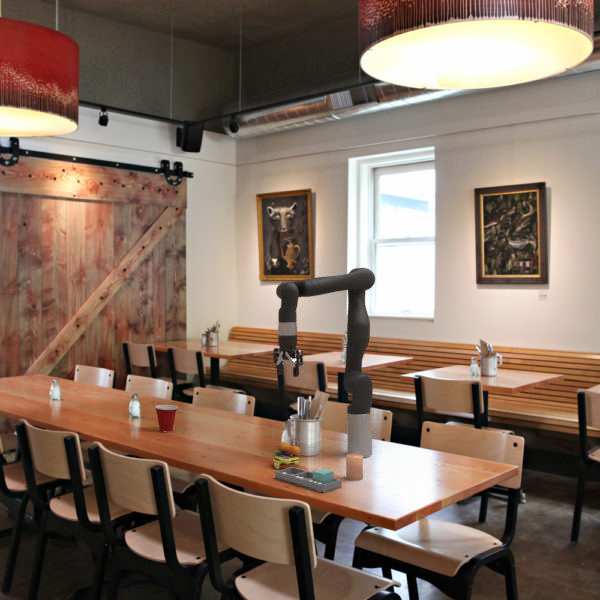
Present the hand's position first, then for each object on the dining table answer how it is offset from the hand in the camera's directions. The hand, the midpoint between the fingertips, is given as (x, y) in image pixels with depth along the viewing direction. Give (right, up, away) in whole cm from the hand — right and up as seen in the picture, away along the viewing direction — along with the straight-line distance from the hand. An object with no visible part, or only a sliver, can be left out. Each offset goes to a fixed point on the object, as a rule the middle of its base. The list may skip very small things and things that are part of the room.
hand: (288, 375), depth 267 cm
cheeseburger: (-1, -34, -5) cm, 34 cm away
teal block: (+13, -34, -33) cm, 49 cm away
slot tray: (+7, -34, -27) cm, 44 cm away
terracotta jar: (+24, -34, -22) cm, 47 cm away
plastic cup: (-58, -33, +59) cm, 89 cm away
